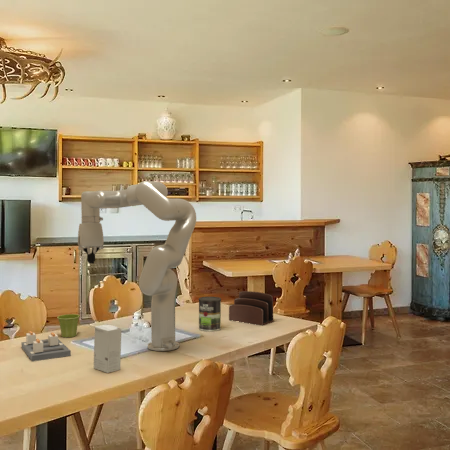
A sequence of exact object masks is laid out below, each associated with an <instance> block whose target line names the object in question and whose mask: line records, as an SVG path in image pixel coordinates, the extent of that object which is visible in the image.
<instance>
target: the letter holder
mask: <svg viewBox="0 0 450 450" xmlns="http://www.w3.org/2000/svg"><path fill="white" fill-rule="evenodd" d="M273 297H274V296H272V295H271V294H268V293H264V292H260V291H253V290H252V291H251V290H250V291H249V290H247V291H244V290H243V291H239V294H238V298H234V299H233V300H234V301H233V304H230V305H228V321H230V320H233V321H232V322H236V321H239V322H238V323H242V322H244V323H243V324H249V323H250V324H249V325H255V324H256V326H266V325H268V324H271V323H273V322H274V298H273Z"/></svg>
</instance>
